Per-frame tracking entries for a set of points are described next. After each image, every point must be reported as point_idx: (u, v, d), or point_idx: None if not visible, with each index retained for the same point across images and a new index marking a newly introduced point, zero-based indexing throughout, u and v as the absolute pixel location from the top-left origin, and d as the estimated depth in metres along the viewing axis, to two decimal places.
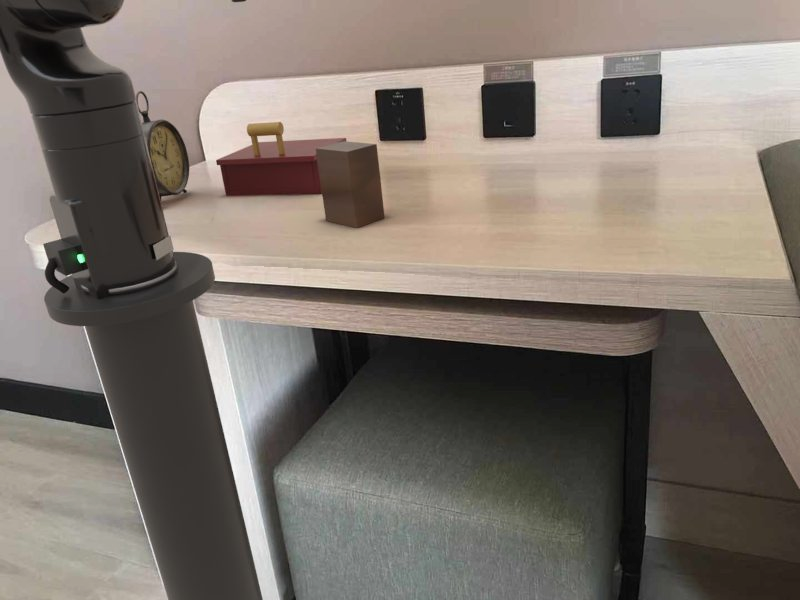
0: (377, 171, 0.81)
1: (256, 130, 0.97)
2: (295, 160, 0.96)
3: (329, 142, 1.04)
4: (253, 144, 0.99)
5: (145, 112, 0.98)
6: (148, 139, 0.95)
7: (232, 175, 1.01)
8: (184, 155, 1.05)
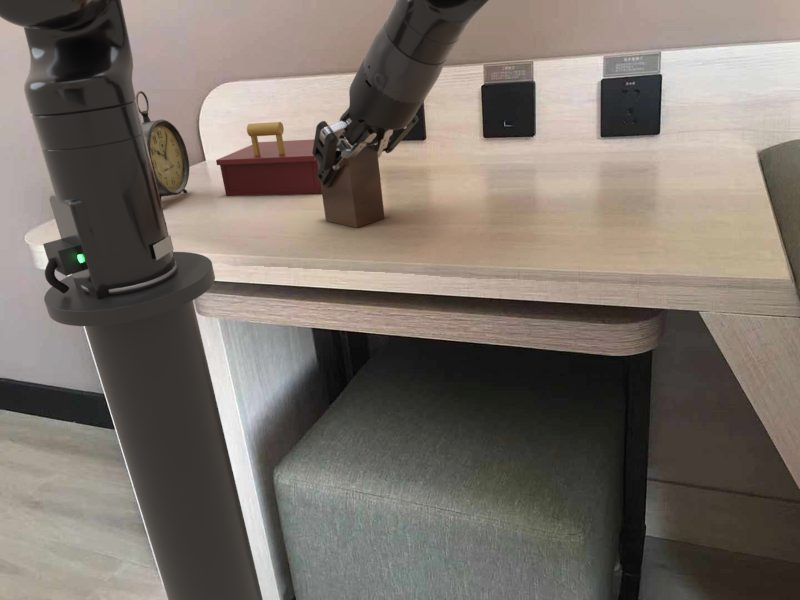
0: (377, 171, 0.81)
1: (256, 130, 0.97)
2: (295, 160, 0.96)
3: None
4: (253, 144, 0.99)
5: (145, 112, 0.98)
6: (148, 139, 0.95)
7: (232, 175, 1.01)
8: (184, 155, 1.05)
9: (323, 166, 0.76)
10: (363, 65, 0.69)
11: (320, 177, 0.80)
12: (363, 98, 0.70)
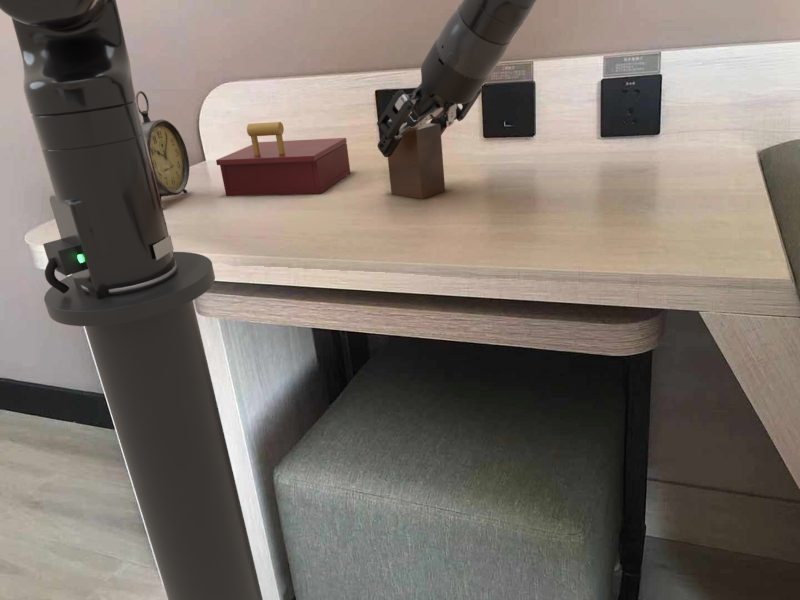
0: (440, 148, 0.90)
1: (256, 130, 0.97)
2: (295, 160, 0.96)
3: (329, 142, 1.04)
4: (253, 144, 0.99)
5: (145, 112, 0.98)
6: (148, 139, 0.95)
7: (232, 175, 1.01)
8: (184, 155, 1.05)
9: (388, 134, 0.83)
10: (436, 46, 0.78)
11: (381, 147, 0.88)
12: (435, 75, 0.79)
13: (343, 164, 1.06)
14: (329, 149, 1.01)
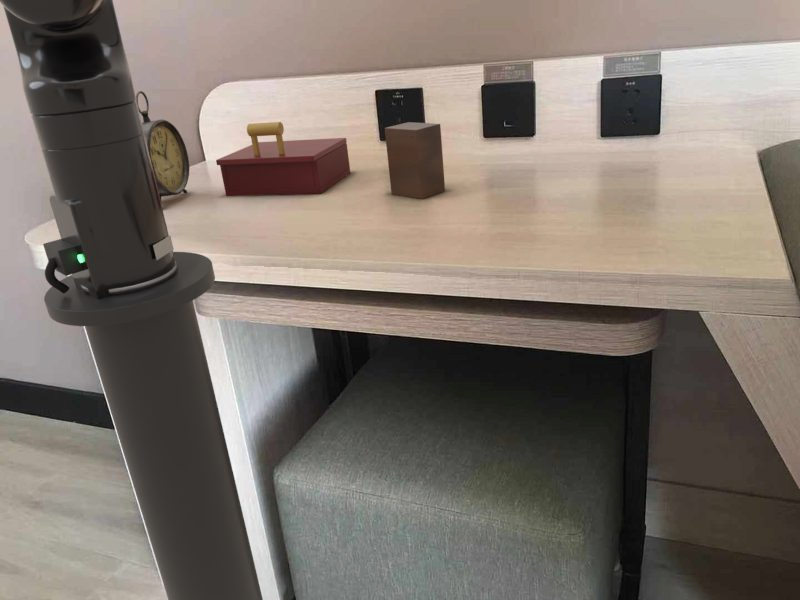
0: (440, 148, 0.90)
1: (256, 130, 0.97)
2: (295, 160, 0.96)
3: (329, 142, 1.04)
4: (253, 144, 0.99)
5: (145, 112, 0.98)
6: (148, 139, 0.95)
7: (232, 175, 1.01)
8: (184, 155, 1.05)
9: None
10: None
11: None
12: None
13: (343, 164, 1.06)
14: (329, 149, 1.01)
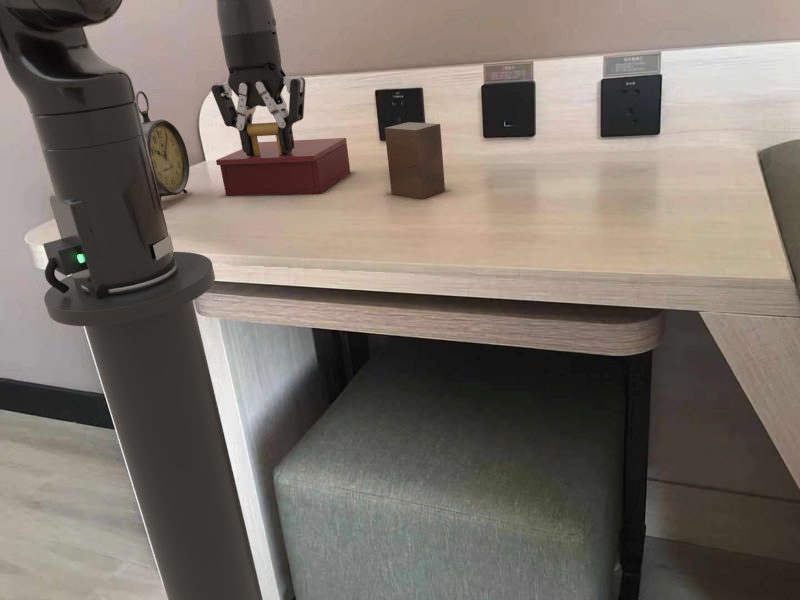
0: (440, 148, 0.90)
1: (256, 130, 0.97)
2: (295, 160, 0.96)
3: (329, 142, 1.04)
4: (253, 144, 0.99)
5: (145, 112, 0.98)
6: (148, 139, 0.95)
7: (232, 175, 1.01)
8: (184, 155, 1.05)
9: (303, 114, 0.97)
10: (263, 30, 0.90)
11: (291, 145, 0.98)
12: (277, 46, 0.93)
13: (343, 164, 1.06)
14: (329, 149, 1.01)
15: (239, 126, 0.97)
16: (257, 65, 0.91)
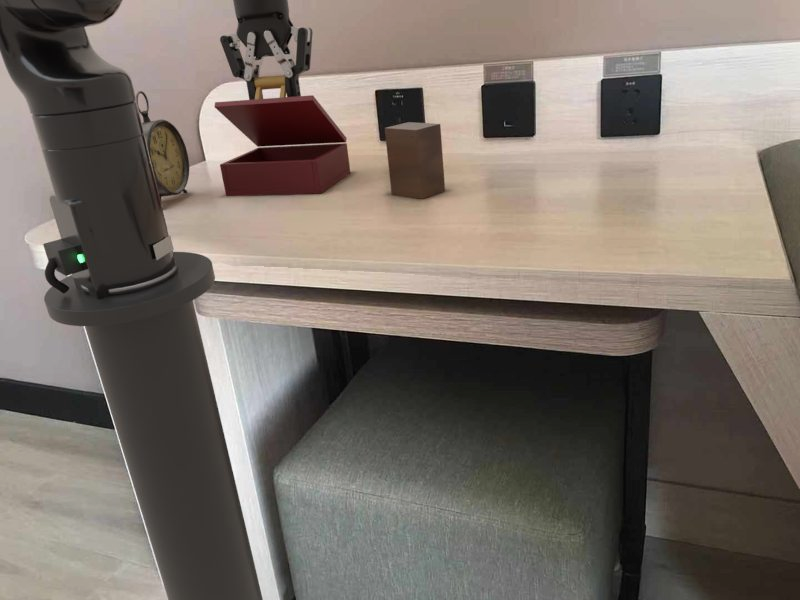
0: (440, 148, 0.90)
1: (263, 79, 0.99)
2: (294, 100, 0.96)
3: None
4: (256, 94, 1.00)
5: (145, 112, 0.98)
6: (148, 139, 0.95)
7: (232, 175, 1.01)
8: (184, 155, 1.05)
9: (309, 65, 0.98)
10: None
11: (297, 95, 0.99)
12: None
13: (343, 164, 1.06)
14: (328, 117, 1.00)
15: (247, 76, 0.99)
16: (266, 13, 0.93)
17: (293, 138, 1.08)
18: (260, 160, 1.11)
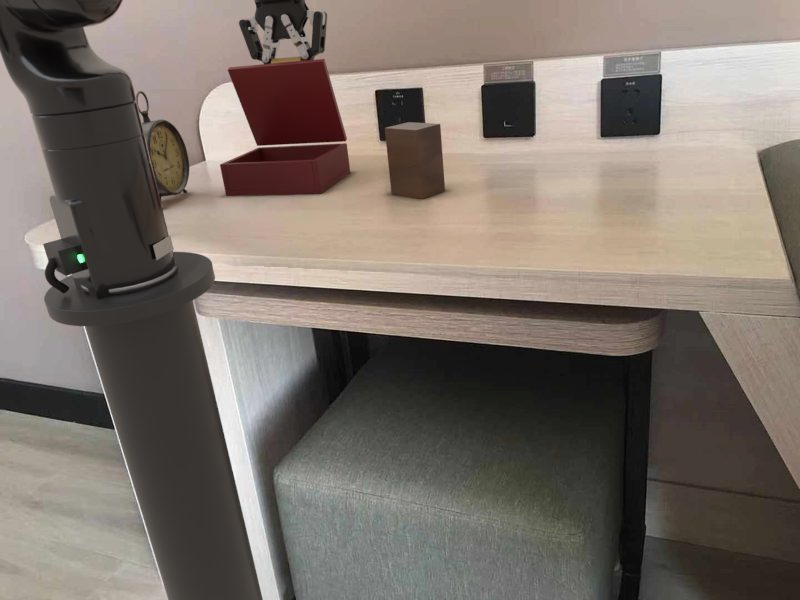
0: (440, 148, 0.90)
1: (280, 58, 1.04)
2: (305, 62, 0.99)
3: None
4: None
5: (145, 112, 0.98)
6: (148, 139, 0.95)
7: (232, 175, 1.01)
8: (184, 155, 1.05)
9: (324, 47, 1.03)
10: None
11: None
12: None
13: (343, 164, 1.06)
14: (334, 96, 1.02)
15: (264, 58, 1.04)
16: None
17: (294, 132, 1.08)
18: (260, 160, 1.11)
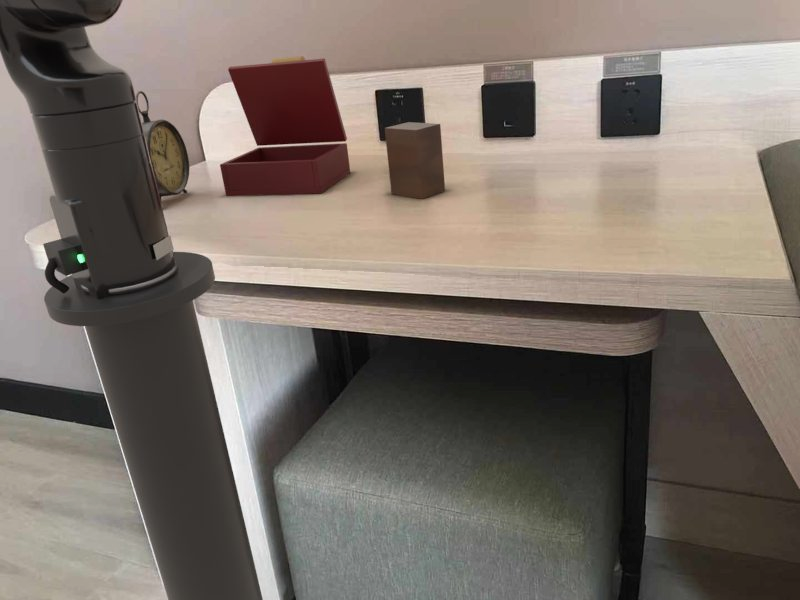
0: (440, 148, 0.90)
1: (281, 58, 1.04)
2: (305, 61, 0.99)
3: None
4: None
5: (145, 112, 0.98)
6: (148, 139, 0.95)
7: (232, 175, 1.01)
8: (184, 155, 1.05)
9: None
10: None
11: None
12: None
13: (343, 164, 1.06)
14: (334, 96, 1.02)
15: None
16: None
17: (294, 132, 1.08)
18: (260, 160, 1.11)
